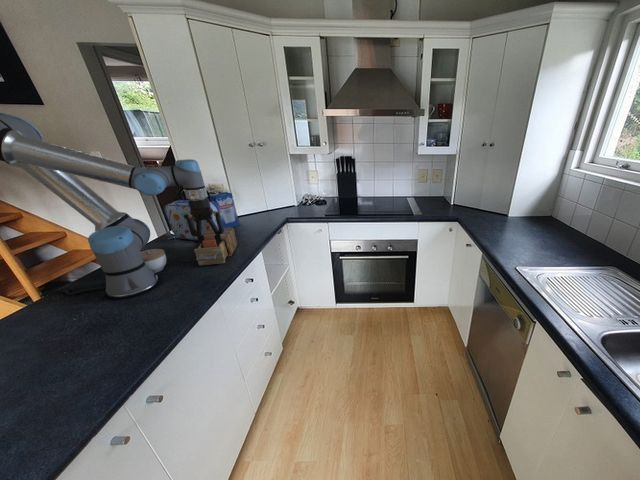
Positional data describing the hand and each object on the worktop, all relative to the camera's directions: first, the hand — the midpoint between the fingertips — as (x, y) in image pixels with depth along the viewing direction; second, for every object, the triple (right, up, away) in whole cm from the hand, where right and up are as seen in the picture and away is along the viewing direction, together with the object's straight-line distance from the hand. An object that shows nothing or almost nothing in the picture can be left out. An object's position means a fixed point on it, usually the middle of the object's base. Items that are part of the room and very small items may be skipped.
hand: (212, 248), depth 124 cm
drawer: (0, -5, +1) cm, 5 cm away
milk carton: (-18, +15, +44) cm, 50 cm away
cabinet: (-3, -1, +12) cm, 12 cm away
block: (0, 0, 0) cm, 0 cm away
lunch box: (-23, +6, +27) cm, 36 cm away
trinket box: (-22, -10, -6) cm, 24 cm away
